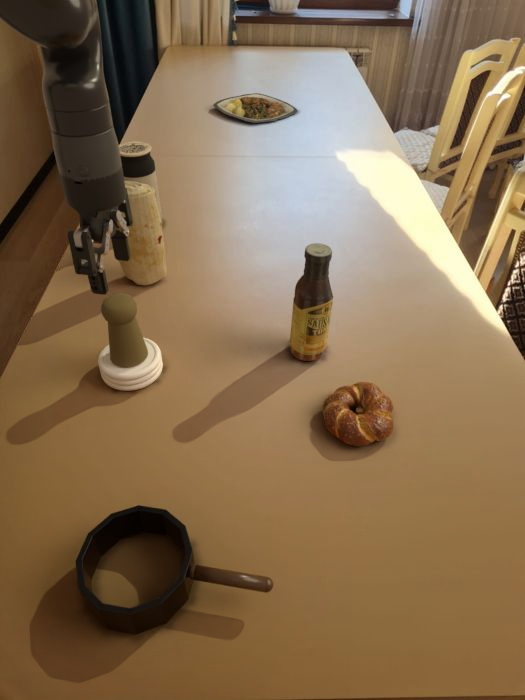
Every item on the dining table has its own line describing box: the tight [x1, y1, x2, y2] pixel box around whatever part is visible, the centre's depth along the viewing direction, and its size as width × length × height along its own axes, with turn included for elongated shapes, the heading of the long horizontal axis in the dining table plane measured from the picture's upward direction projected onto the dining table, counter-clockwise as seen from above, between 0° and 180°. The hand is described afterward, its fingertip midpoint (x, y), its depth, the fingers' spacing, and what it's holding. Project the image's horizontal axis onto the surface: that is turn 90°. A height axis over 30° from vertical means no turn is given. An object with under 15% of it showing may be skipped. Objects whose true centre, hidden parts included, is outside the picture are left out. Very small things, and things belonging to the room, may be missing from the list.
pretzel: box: [321, 381, 394, 447], centre depth 80 cm, size 12×11×4 cm
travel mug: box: [118, 140, 163, 226], centre depth 119 cm, size 8×8×18 cm
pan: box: [75, 504, 274, 635], centre depth 61 cm, size 22×12×5 cm, turn 80°
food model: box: [118, 181, 168, 286], centre depth 102 cm, size 10×7×20 cm
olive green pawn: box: [100, 292, 148, 368], centre depth 83 cm, size 6×6×11 cm
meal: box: [212, 92, 299, 124], centre depth 184 cm, size 25×25×3 cm
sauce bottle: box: [289, 242, 334, 362], centre depth 86 cm, size 7×6×20 cm
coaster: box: [97, 337, 164, 392], centre depth 88 cm, size 10×10×4 cm
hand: (112, 275), depth 77 cm, fingers open, 8 cm apart
